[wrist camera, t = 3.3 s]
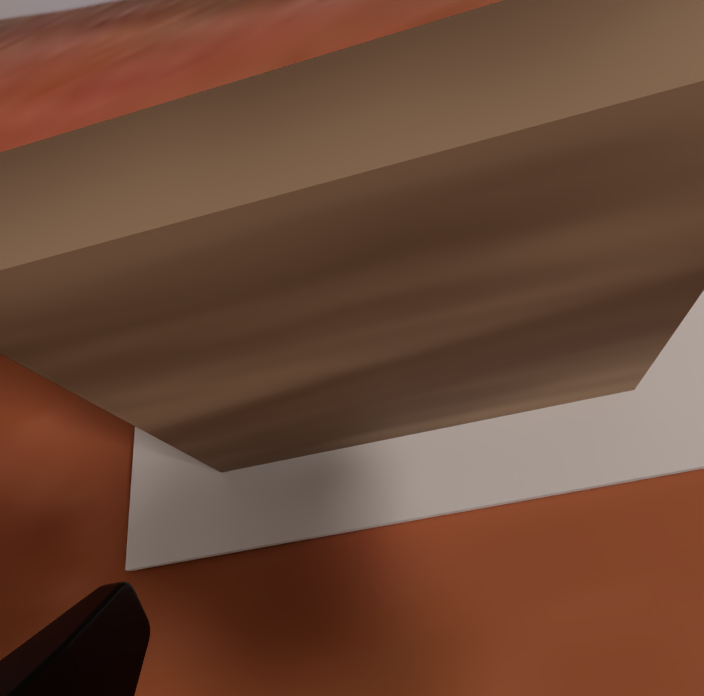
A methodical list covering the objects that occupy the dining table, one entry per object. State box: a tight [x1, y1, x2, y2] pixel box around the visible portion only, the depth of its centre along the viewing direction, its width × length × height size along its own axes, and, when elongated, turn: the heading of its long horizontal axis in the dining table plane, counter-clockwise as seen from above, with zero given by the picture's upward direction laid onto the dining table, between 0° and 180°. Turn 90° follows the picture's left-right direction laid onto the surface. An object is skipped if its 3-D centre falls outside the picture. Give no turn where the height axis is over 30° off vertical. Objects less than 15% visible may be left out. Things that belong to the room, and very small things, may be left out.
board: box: [0, 0, 704, 473], centre depth 11 cm, size 2×12×10 cm, turn 98°
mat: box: [125, 291, 704, 571], centre depth 18 cm, size 16×18×1 cm
